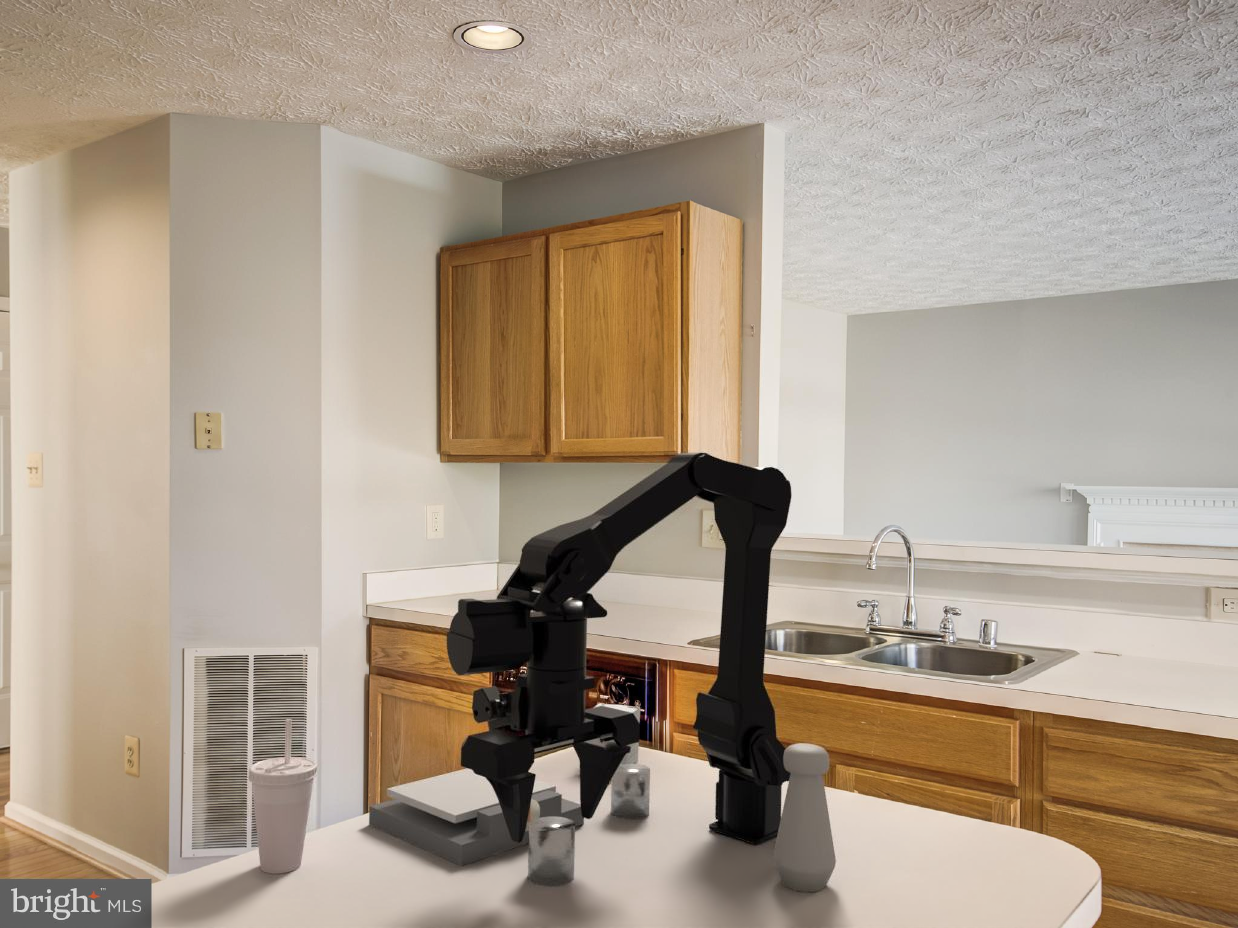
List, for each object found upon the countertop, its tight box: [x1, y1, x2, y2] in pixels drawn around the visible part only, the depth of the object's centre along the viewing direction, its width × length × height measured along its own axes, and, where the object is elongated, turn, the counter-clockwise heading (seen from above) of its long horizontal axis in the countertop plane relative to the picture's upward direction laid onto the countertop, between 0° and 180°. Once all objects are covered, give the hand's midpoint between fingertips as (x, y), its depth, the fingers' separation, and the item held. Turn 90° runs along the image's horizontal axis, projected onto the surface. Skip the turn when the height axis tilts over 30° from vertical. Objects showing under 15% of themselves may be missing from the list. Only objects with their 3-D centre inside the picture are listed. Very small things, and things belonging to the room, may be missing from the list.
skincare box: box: [592, 702, 641, 764], centre depth 133 cm, size 6×6×7 cm
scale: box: [368, 768, 585, 867], centre depth 109 cm, size 16×17×5 cm
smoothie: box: [247, 718, 318, 875], centre depth 96 cm, size 6×6×14 cm
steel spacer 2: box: [610, 763, 651, 821], centre depth 114 cm, size 4×4×5 cm
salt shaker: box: [773, 742, 837, 893], centre depth 95 cm, size 6×6×13 cm
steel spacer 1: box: [527, 817, 576, 887], centre depth 95 cm, size 4×4×5 cm
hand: (552, 829), depth 95 cm, fingers open, 9 cm apart
